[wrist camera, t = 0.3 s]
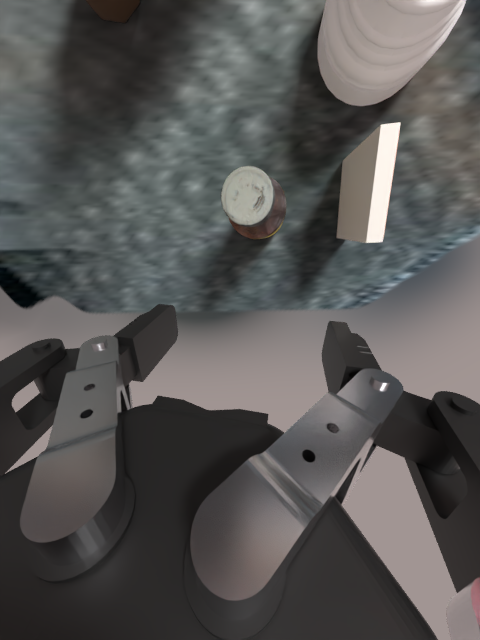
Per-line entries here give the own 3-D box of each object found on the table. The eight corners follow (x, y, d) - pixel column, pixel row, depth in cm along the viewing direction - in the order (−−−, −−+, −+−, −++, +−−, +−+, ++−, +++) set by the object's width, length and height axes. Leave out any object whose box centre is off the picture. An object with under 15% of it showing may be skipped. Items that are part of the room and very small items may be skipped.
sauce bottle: (290, 222, 35) (311, 217, 17) (255, 245, 37) (240, 263, 19) (268, 181, 34) (265, 127, 15) (233, 208, 35) (192, 187, 17)
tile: (342, 160, 32) (380, 124, 20) (356, 159, 31) (403, 121, 20) (336, 238, 35) (366, 242, 24) (348, 237, 35) (384, 241, 24)
